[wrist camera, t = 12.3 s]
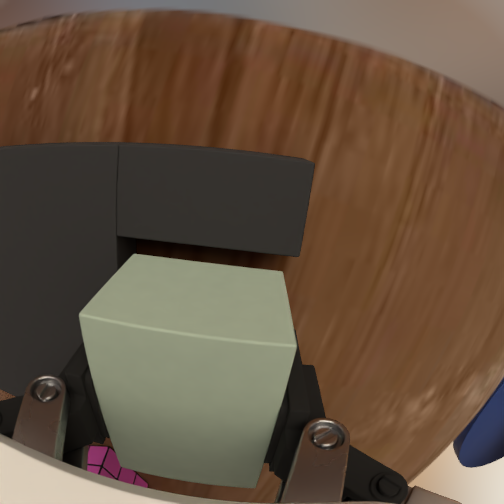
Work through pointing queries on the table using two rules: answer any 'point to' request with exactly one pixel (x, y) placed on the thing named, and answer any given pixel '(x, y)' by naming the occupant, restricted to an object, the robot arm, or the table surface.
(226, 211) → the base pad
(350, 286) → the table surface
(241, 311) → the pale green block
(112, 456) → the puzzle toy
